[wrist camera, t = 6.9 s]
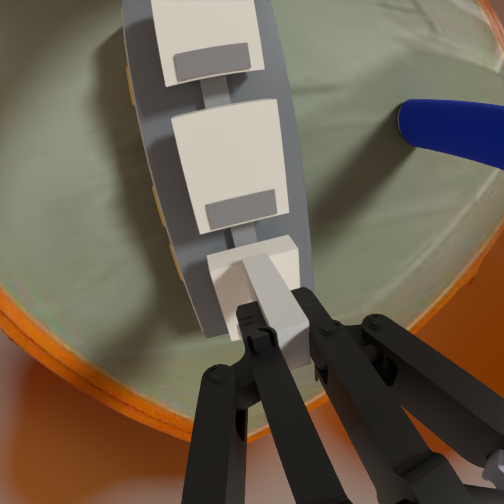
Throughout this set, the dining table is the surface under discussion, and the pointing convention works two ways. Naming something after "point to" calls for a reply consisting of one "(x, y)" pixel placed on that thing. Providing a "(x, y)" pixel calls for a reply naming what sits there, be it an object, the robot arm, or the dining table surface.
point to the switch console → (169, 164)
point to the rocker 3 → (234, 280)
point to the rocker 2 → (233, 163)
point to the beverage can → (455, 128)
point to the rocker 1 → (206, 38)
